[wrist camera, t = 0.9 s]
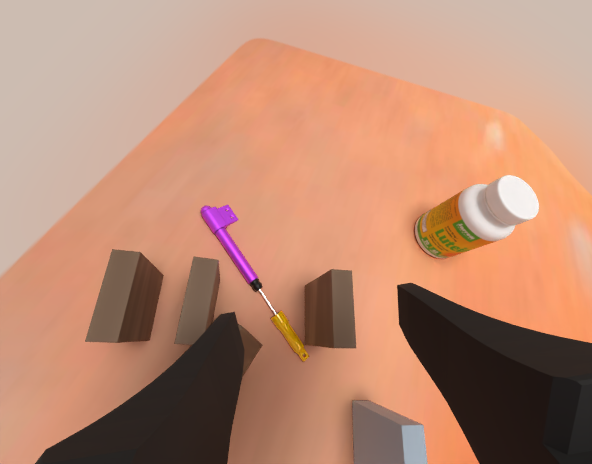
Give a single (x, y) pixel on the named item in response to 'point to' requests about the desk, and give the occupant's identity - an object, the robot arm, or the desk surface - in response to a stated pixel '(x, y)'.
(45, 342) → the desk surface
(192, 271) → the domino
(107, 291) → the domino
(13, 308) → the desk surface
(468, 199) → the supplement bottle
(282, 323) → the purple slender piece
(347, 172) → the desk surface
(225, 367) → the robot arm
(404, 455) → the domino
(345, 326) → the domino
